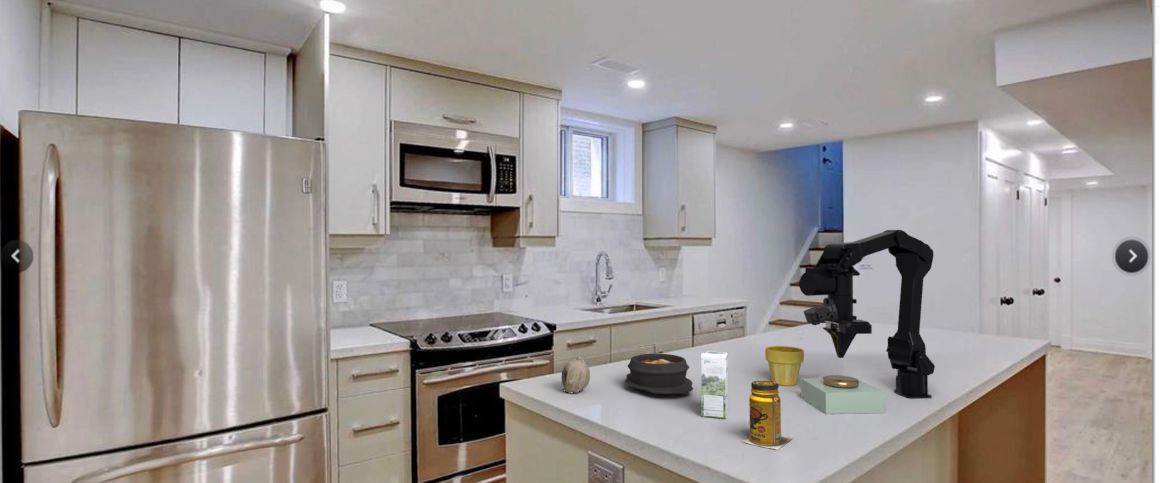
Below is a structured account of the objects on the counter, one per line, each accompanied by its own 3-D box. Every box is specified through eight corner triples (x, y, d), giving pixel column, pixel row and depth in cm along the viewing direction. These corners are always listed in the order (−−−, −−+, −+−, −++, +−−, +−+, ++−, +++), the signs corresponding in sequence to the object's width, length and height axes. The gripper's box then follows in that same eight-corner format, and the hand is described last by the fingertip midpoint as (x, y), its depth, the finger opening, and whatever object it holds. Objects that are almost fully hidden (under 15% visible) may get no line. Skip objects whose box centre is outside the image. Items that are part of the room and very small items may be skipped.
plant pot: (798, 378, 170) (798, 345, 170) (808, 387, 160) (808, 352, 160) (762, 378, 171) (761, 345, 171) (770, 387, 161) (769, 351, 161)
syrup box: (728, 412, 137) (727, 351, 137) (726, 419, 132) (725, 355, 132) (703, 410, 139) (703, 349, 139) (700, 417, 134) (700, 354, 134)
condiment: (741, 442, 117) (741, 383, 117) (759, 432, 123) (758, 375, 123) (777, 451, 112) (776, 389, 112) (793, 439, 119) (792, 380, 119)
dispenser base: (854, 397, 150) (854, 377, 150) (884, 413, 136) (884, 391, 136) (801, 397, 149) (800, 378, 149) (826, 414, 135) (825, 392, 135)
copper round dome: (848, 395, 147) (848, 375, 147) (865, 404, 139) (865, 382, 139) (817, 396, 146) (817, 375, 146) (832, 404, 138) (832, 383, 138)
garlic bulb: (573, 396, 162) (574, 360, 165) (597, 395, 157) (599, 358, 161) (551, 392, 155) (554, 355, 158) (576, 391, 150) (578, 353, 154)
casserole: (710, 397, 150) (709, 365, 150) (642, 403, 146) (642, 370, 146) (671, 376, 175) (670, 348, 175) (612, 380, 170) (612, 352, 170)
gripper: (792, 291, 152) (793, 350, 152) (825, 298, 133) (825, 366, 133) (834, 291, 152) (834, 350, 152) (872, 297, 134) (873, 365, 134)
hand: (840, 357), depth 143 cm, fingers closed
